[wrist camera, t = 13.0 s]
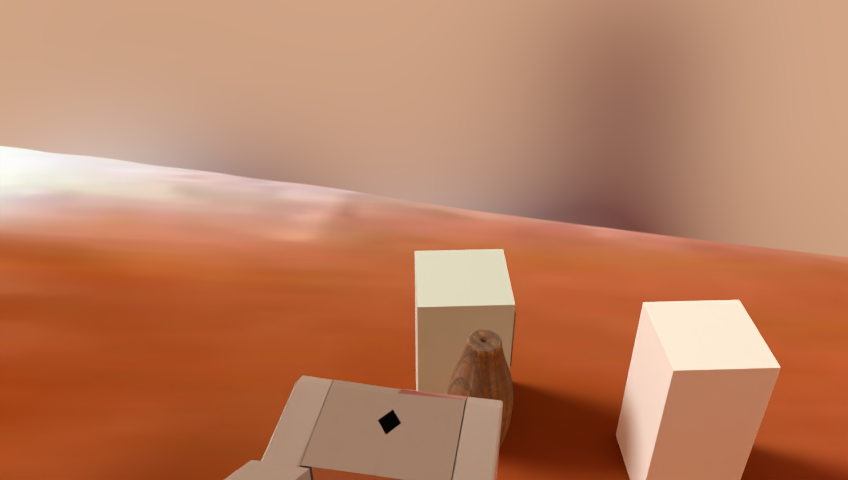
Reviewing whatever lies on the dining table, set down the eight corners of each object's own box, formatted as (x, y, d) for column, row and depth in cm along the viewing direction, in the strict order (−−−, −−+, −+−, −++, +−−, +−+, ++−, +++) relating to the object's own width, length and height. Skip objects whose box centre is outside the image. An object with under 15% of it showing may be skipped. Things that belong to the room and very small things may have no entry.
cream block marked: (639, 507, 40) (673, 370, 35) (615, 435, 44) (643, 302, 39) (737, 504, 40) (787, 367, 35) (704, 432, 45) (745, 299, 39)
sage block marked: (418, 440, 44) (417, 307, 38) (416, 379, 48) (414, 251, 43) (508, 437, 44) (520, 304, 39) (498, 377, 48) (508, 248, 43)
